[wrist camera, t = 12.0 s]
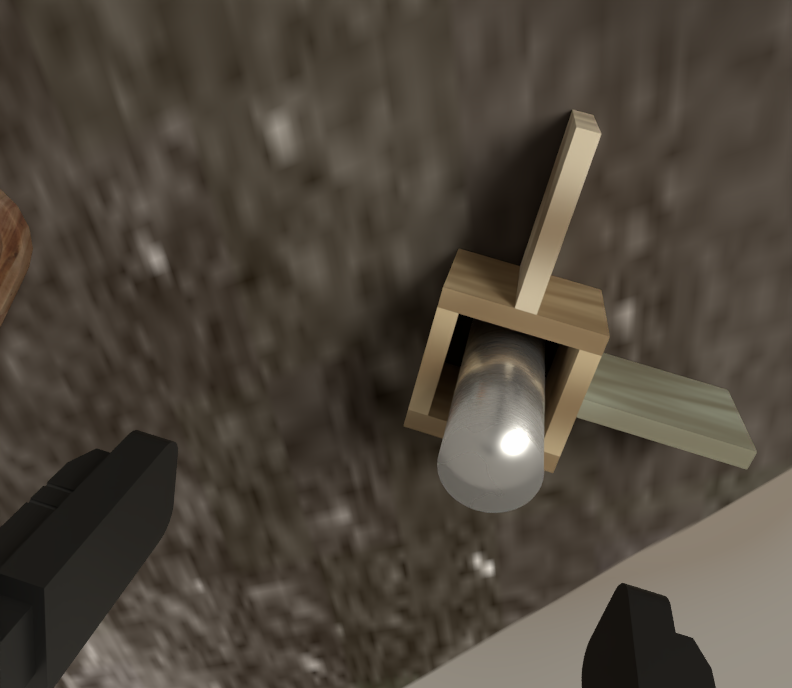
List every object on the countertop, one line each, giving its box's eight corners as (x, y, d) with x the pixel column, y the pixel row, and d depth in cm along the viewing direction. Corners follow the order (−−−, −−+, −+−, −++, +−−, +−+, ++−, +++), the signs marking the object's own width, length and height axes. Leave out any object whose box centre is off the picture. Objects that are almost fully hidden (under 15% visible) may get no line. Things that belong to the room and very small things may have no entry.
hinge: (504, 90, 34) (495, 104, 28) (835, 181, 32) (892, 213, 27) (422, 372, 40) (403, 426, 35) (693, 455, 39) (716, 524, 34)
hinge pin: (482, 289, 38) (452, 410, 26) (555, 310, 38) (558, 442, 26) (461, 354, 40) (426, 494, 28) (531, 375, 39) (524, 525, 28)
